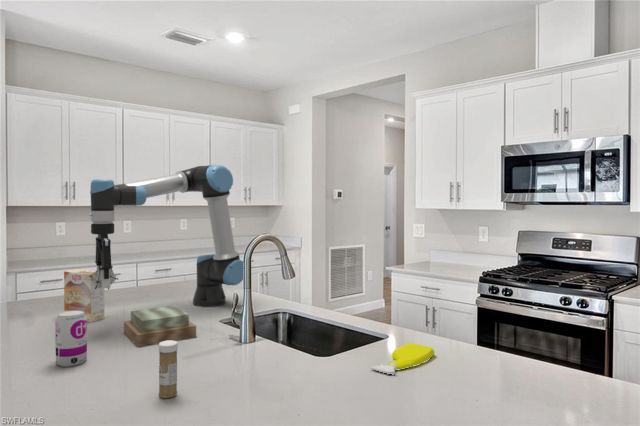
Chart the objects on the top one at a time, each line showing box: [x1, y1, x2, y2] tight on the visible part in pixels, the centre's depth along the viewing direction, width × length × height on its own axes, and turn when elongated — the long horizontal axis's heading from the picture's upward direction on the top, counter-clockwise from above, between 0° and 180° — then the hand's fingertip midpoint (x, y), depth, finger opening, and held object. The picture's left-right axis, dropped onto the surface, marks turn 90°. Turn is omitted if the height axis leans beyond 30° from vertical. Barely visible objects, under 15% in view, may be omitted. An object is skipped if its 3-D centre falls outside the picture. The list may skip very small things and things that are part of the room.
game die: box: [89, 265, 119, 290], centre depth 165 cm, size 9×8×10 cm
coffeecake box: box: [63, 268, 105, 323], centre depth 188 cm, size 15×7×20 cm, turn 68°
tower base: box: [123, 305, 197, 348], centre depth 167 cm, size 20×20×8 cm
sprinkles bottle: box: [158, 340, 179, 399], centre depth 116 cm, size 5×5×13 cm
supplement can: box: [54, 310, 88, 368], centre depth 138 cm, size 8×8×15 cm
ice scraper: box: [370, 342, 435, 375], centre depth 141 cm, size 3×11×24 cm
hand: (103, 285), depth 165 cm, fingers closed on game die, 9 cm apart
